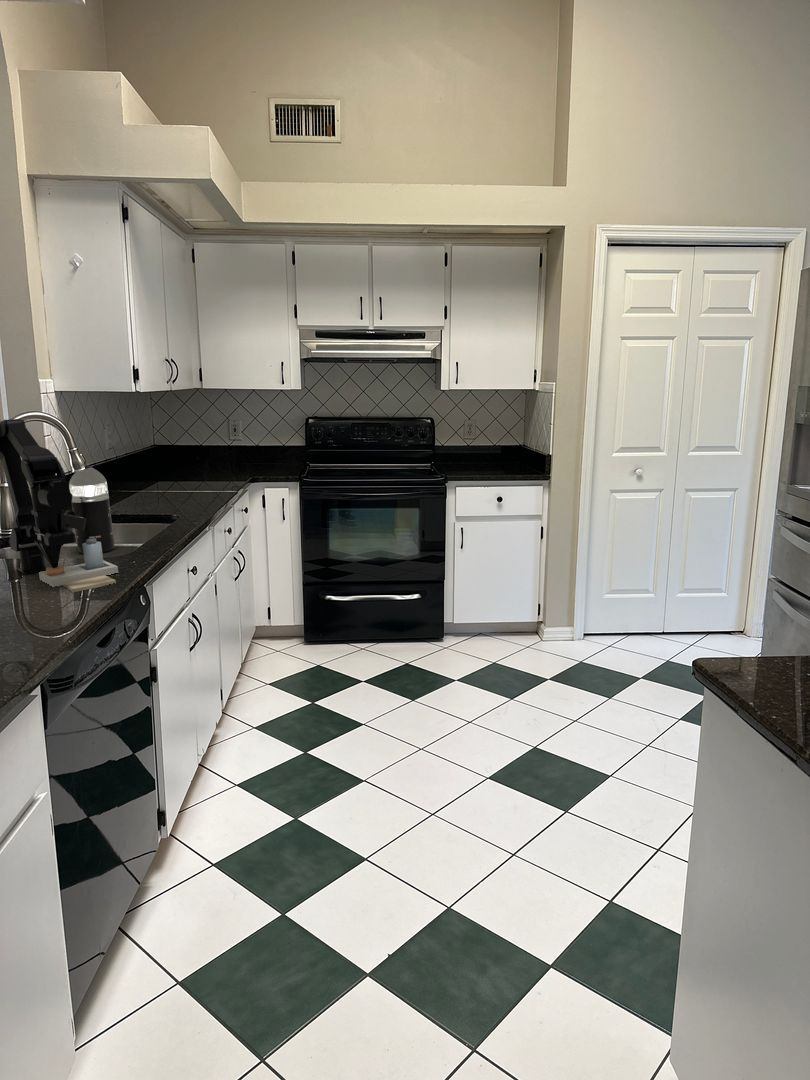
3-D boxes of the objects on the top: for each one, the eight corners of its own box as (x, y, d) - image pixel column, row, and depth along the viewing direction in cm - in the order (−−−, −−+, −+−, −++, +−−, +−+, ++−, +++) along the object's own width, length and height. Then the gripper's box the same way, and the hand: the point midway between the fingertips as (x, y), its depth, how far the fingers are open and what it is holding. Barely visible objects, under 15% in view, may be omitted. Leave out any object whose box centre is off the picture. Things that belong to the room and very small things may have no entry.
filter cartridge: (83, 574, 193) (79, 539, 191) (101, 570, 196) (96, 536, 194) (90, 577, 189) (85, 542, 187) (107, 573, 192) (103, 539, 190)
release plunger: (45, 579, 186) (43, 567, 186) (62, 576, 189) (60, 564, 188) (50, 582, 183) (49, 570, 183) (67, 579, 186) (66, 567, 185)
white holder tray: (39, 579, 188) (38, 572, 188) (103, 567, 199) (102, 560, 198) (52, 587, 181) (51, 579, 181) (118, 573, 191) (117, 566, 191)
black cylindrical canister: (77, 556, 212) (65, 468, 206) (77, 549, 221) (66, 464, 215) (116, 552, 216) (105, 465, 210) (114, 545, 225) (104, 461, 219)
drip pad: (63, 586, 181) (63, 583, 181) (105, 578, 188) (104, 575, 188) (73, 592, 176) (73, 589, 176) (115, 583, 183) (115, 580, 182)
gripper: (93, 504, 181) (101, 567, 184) (67, 497, 194) (75, 555, 198) (44, 511, 173) (54, 577, 177) (21, 503, 187) (30, 563, 190)
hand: (54, 567), depth 186 cm, fingers closed, pressing on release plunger
